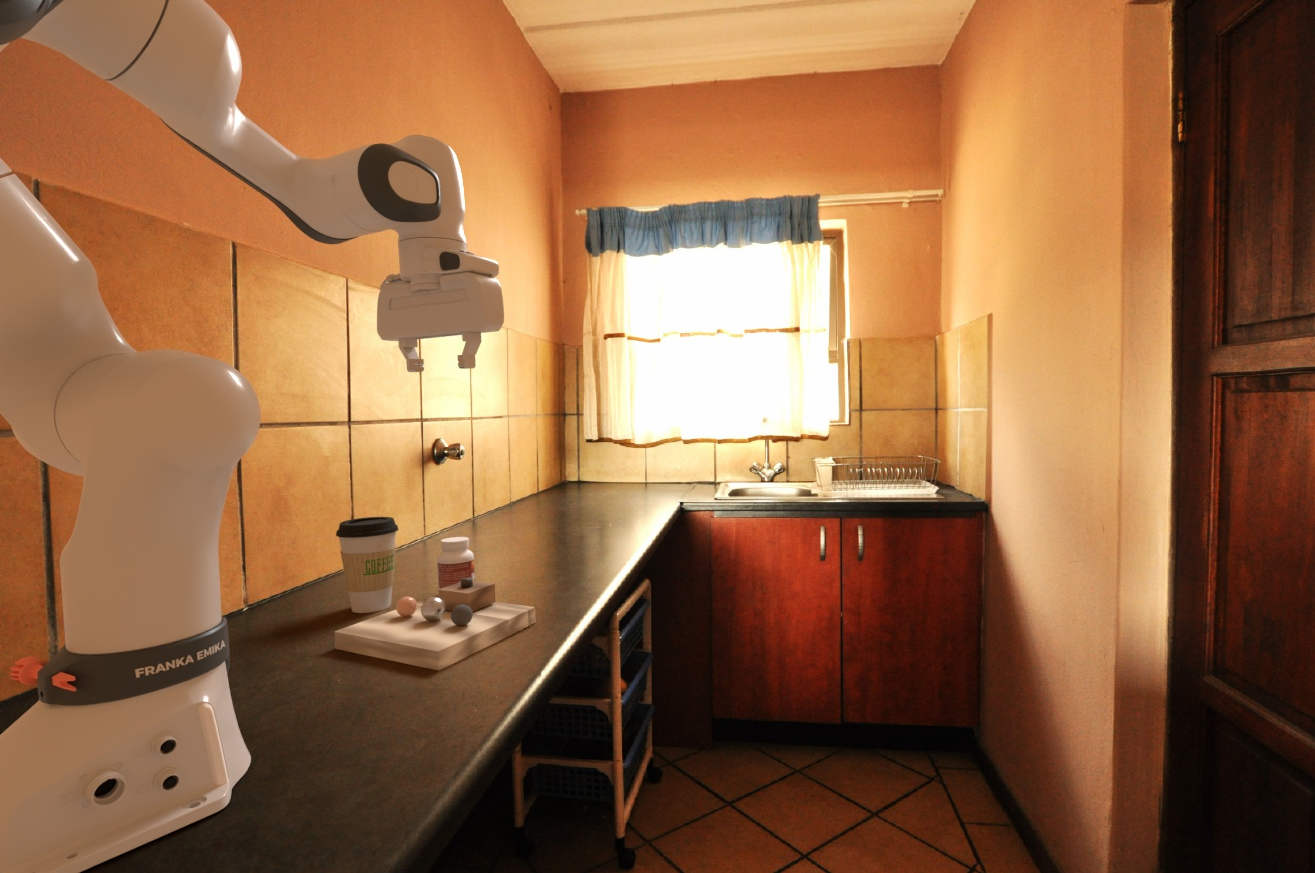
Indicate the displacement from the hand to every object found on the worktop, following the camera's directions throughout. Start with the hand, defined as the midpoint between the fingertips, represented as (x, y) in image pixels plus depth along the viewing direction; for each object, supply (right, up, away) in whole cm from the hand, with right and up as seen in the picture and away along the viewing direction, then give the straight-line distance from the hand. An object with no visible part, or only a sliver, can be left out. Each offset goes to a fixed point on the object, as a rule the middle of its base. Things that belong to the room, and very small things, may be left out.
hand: (440, 370), depth 89 cm
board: (-3, -39, +8) cm, 40 cm away
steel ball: (-3, -34, +7) cm, 35 cm away
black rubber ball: (+1, -35, +5) cm, 35 cm away
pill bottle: (-5, -38, +25) cm, 46 cm away
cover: (0, -36, +14) cm, 38 cm away
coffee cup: (-20, -39, +24) cm, 49 cm away
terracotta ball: (-8, -35, +10) cm, 37 cm away
